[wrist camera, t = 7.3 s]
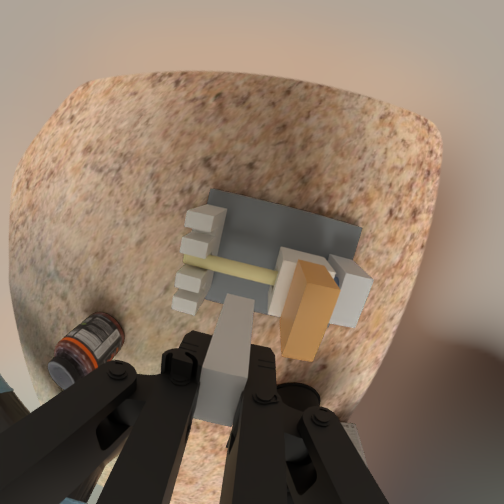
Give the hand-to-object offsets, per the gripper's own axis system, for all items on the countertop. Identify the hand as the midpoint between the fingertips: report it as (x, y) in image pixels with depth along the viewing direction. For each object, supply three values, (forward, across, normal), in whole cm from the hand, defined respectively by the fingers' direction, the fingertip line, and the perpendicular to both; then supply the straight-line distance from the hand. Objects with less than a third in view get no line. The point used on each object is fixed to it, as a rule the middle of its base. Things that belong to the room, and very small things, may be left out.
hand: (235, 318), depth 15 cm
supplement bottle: (+14, -16, -14) cm, 26 cm away
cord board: (+14, +2, 0) cm, 14 cm away
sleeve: (+10, +4, 0) cm, 11 cm away
